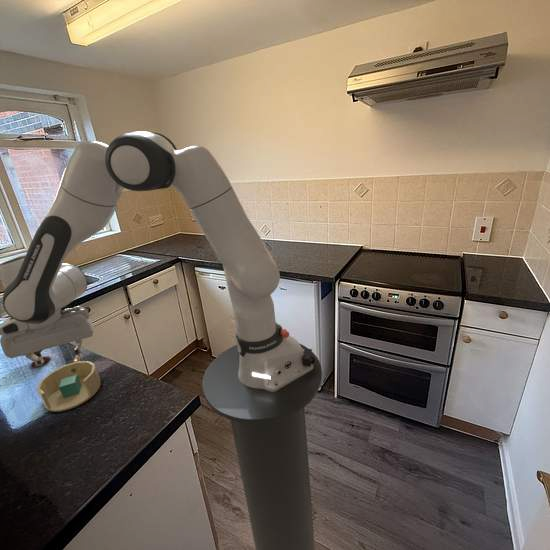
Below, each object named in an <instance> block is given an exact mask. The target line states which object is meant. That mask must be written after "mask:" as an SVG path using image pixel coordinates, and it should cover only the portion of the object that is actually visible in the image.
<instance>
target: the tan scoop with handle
mask: <svg viewBox="0 0 550 550" xmlns="http://www.w3.org/2000/svg"><path fill="white" fill-rule="evenodd" d="M81 359H82V357H81V356H80V355H79V354H77V355H75V356H74V357H73V359H72V362H71V363H68V364H64V365H62V366H60V367H59V368H57V369H55V370H53V371H51V372H49V373H48V374H47V375H45V376H44V378H42V379H41V380H40V381H39V383H38V385H37V388H36V392H37V394H38V395H39V398H40V400H41V402H42V404H43V406H44V407H45V408H46V410H48V411H50V412H55V413H57V412H58V413H59V412H65V411H69V410H71V409H74V408H77V407H78V406H80V405H82V404H84V403H85V402H87V401H88V400H90V399H91V398H92V397H94V396H95V395H96V393H97V392H98V391H99V389H100V387H101V377H100V374H99V371H98V369H97V367H96V364H94V363H93V362H92V361H91V360H81ZM74 375H78V378H79V380H80V383H81V389H80V393H79V394H76V395H73V396H70V397H67V398H63V396H62V394H61V391H60V389H59V385H60V383H61V380H62V379H64V378H67V377H70V376H74Z"/></svg>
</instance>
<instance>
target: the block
mask: <svg viewBox="0 0 550 550" xmlns="http://www.w3.org/2000/svg"><path fill="white" fill-rule="evenodd" d="M59 389H60V391H61V394H62V396H63V398H67V397H70V396H73V395H76V394H79V393H80V389H81V383H80V380H79V378H78V375H74V376H70V377H67V378H64V379H62V380H61V383H60V385H59Z"/></svg>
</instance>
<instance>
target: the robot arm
mask: <svg viewBox="0 0 550 550" xmlns="http://www.w3.org/2000/svg"><path fill="white" fill-rule="evenodd" d="M170 187H172V188H174V189H175V190H176V191H177V192H178V193H179V194H180V196H181V197H182V199H183V200H184V202H185V204H186V206H187V208H188V210H189V211H190V212H191V214H192V217H193V218H194V220H195V221H196V223H197V225H198V226H199V228H200V230H201V232H202V233H203V235H204V236H205V238H206V240H207V241H208V243H209V245H210V246H211V248H212V250H213V251H214V253H215V254H216V256H217V258H218V259H219V261H220V263H221V264H222V268H223V271H224V272H223V273H224V277H225V281H226V285H227V286H226V287H227V290H228V294H229V299H230V302H231V307H232V311H233V315H234V317H233V318H234V323H235V330H236V331H235V342H236V345H237V348H238V352H239V354H240V363H239V371H238V377H239V380H240V381H241V382H242V383H243V384H244V385H246V386H248V387H251V388H258V389H265V390H267V391H270V392H275V391H277V390H279V389H280V388H282V387H284V386H285V385H287V384H289V383H290V382H292V381H294V380H295V379H297V378H299V377H301V376H302V375H304V374H306V373H307V372H309V371H311V370H312V369H313V363H315V358H314V357H313V356H312V352H313V349H312V348H308V349H303V348H302V347H301V345H300V344H301V343H300V344H299V342H298V340H297V339H296V338H294V337H293V336H292V335H290V332H289V331H288V330H287V329H285V328H283V327H282V325H281V324H278V322H277V321H276V313H275V303H274V300H273V298H272V294H273V293H274V292H275V291H276V289H277V288H278V286H279V284H280V281H281V279H280V278H281V274H280V270H279V268H278V266H277V264H276V262H275V260H274V258H273V256H272V255H271V253H270V251H269V250H268V248H267V246H266V245H265V243H264V241H263V239H262V238H261V236H260V235H259V232H258V231H257V229H256V228H255V226H254V225H253V223H252V222H251V220H250V218H249V217H248V214H247V213H246V211H245V209H244V207H243V205H242V203H241V201H240V199H239V197H238V195H237V193H236V191H235V189H234V186H233V185H232V183H231V181H230V180H229V177H228V175H227V174H226V173H225V171H224V168H222V165H220V163H219V162H218V160H217V158H215V156H214V154H212V152H211V151H210V150H209V149H208V148H206V147H204V146H203V145H190V146H186V147H184V148H182V149H178V148H177V147H176V144H174V142H172V140H171V139H169V137H167V136H165V135H164V134H161V133H160V132H159V133H158V132H153V131H152V132H150V131H147V130H139V131H137V130H136V131H132V132H126V133H125V132H124V133H122V134H120V135H118V136H117V137H115V138H114V139H113V140H112V141H111V142H110V143H109V144H107V143H104V142H101V141H98V140H85V141H82V142H80V143H79V144H78V145H77V146H76V147H75V149H74V150H73V152H72V154H71V156H70V157H69V159H68V162H67V164H66V166H65V169H64V171H63V174H62V177H61V180H60V183H59V187H58V189H57V192H56V195H55V198H54V200H53V202H52V205H51V206H50V208H49V210H48V212H47V213H46V215H45V216H44V218H43V220H42V221H41V223H40V224H39V226H38V227H37V229H36V231H35V234H34V235H33V238H32V240H31V242H30V244H29V246H28V249H27V251H26V253H25V254H23V255H19V256H16V257H14V258H11V259H9V260H6V261H3V262H2V263H1V264H0V281H1V284H2V286H3V289H4V290H3V294H2V305H3V309H4V311H5V313H6V314H7V316H9V317H7V318H6V319H5V320H4V321H3V322H2V323H1V324H0V346H1V350H2V352H3V354H4V356H5V357H7V358H9V359H15V358H18V357H22V356H25V358H26V359H28V360H29V361H32V362H35V364H36V366H39V365H42V364H43V363H44V359H43V357H44V356H43V355H41V357H38V356H36V355H35V354H34V352H37V351H41V350H43V351H44V350H47V349H51V348H55V347H59V346H62V345H66V344H69V343H73V342H74V343H75V344H78V345H77V346H74V349H73V351H74V353H75V356H77V355H80V354H83V348H82V344H83V341H84V340H85V339H88V338H91V337H92V336H93V335H94V333H95V325H94V323H93V322H92V320H91V318H90V317H91V314H90V312H89V310H88V308H86V307H83V306H80V305H78V306H74V307H70V308H69V307H68V308H65V307H66V306H68V305H69V304H71V303H72V302H74V301H75V300H77V299H78V298H79V297H81V296H82V295H83V294H84V293H86V291H87V289H88V279H87V276H86V274H85V273H84V272H83V270H82V269H80V268H79V267H78V266H77V265H74V264H71V263H66V262H65V263H64V261H65V259H66V258H67V257H68V255H69V254H70V253H71V252H72V251H74V249H75V248H77V246H79V245H80V244H82V243H83V242H85V241H86V240H87V239H89V238H91V237H93V236H94V235H96V234H98V233H99V232H101V231H102V230H104V229H105V228H106V227H107V225H108V223H109V222H110V220H111V219H112V218H113V216H114V214H115V211H116V209H117V206H118V204H119V201H120V198H121V196H122V195H121V194H122V192H123V190H124V189H125V190H128V191H133V192H151V191H157V190H164V189H169V188H170ZM63 308H65V309H63ZM41 352H42V351H41ZM276 385H277V386H276Z"/></svg>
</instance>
